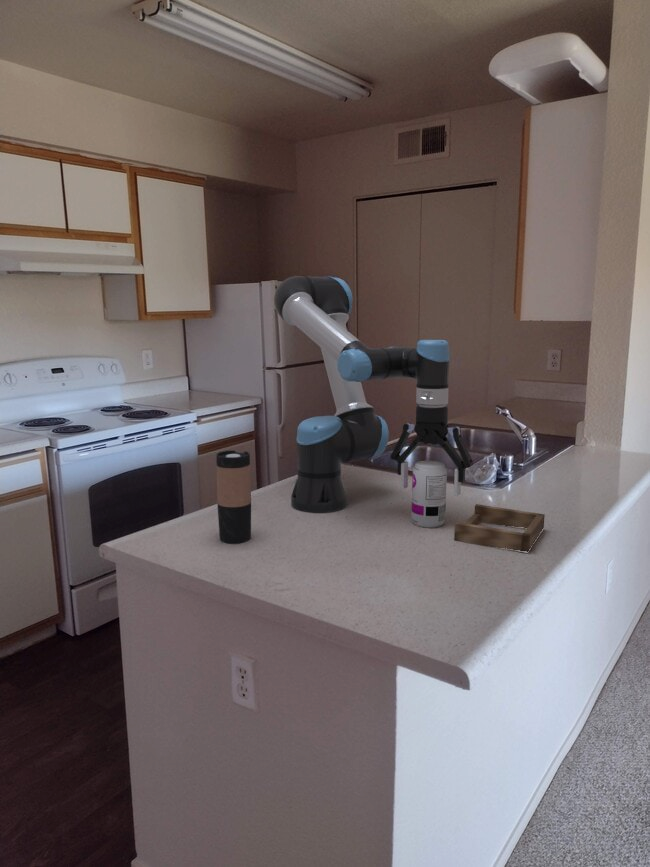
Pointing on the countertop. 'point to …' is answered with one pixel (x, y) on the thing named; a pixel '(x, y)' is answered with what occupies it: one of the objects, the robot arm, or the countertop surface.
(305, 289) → the robot arm
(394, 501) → the countertop surface
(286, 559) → the countertop surface
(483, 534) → the dock bay
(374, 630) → the countertop surface
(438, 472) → the supplement can
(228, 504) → the travel mug
